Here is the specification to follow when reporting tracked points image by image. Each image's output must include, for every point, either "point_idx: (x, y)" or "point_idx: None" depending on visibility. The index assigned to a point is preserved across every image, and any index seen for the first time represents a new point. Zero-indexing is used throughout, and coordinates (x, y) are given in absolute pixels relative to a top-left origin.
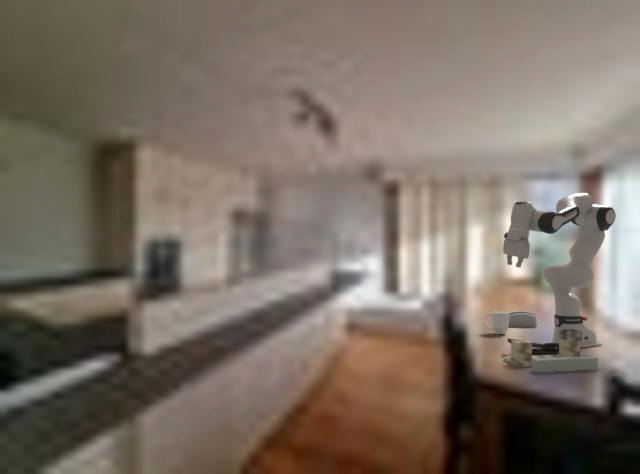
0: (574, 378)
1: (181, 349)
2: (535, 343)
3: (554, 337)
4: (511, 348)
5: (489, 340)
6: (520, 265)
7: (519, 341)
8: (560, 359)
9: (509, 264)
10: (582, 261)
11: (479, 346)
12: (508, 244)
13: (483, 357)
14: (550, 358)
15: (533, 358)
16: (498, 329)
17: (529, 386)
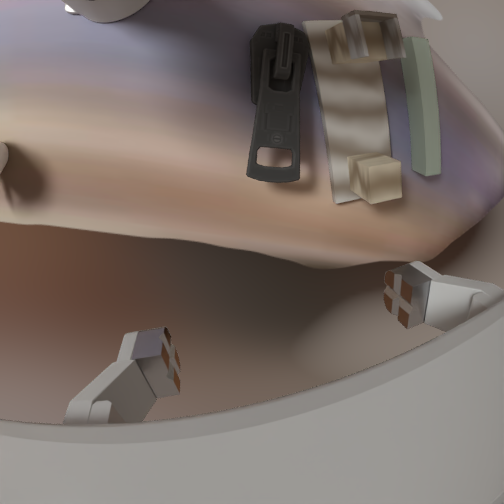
0: (458, 122)
1: None
2: (269, 97)
3: (111, 12)
4: (362, 197)
5: (80, 191)
6: (428, 274)
7: (384, 187)
8: (438, 121)
9: (176, 351)
10: None
11: (168, 228)
12: None
13: (302, 238)
14: (430, 137)
15: (426, 173)
16: (3, 164)
17: (474, 210)
